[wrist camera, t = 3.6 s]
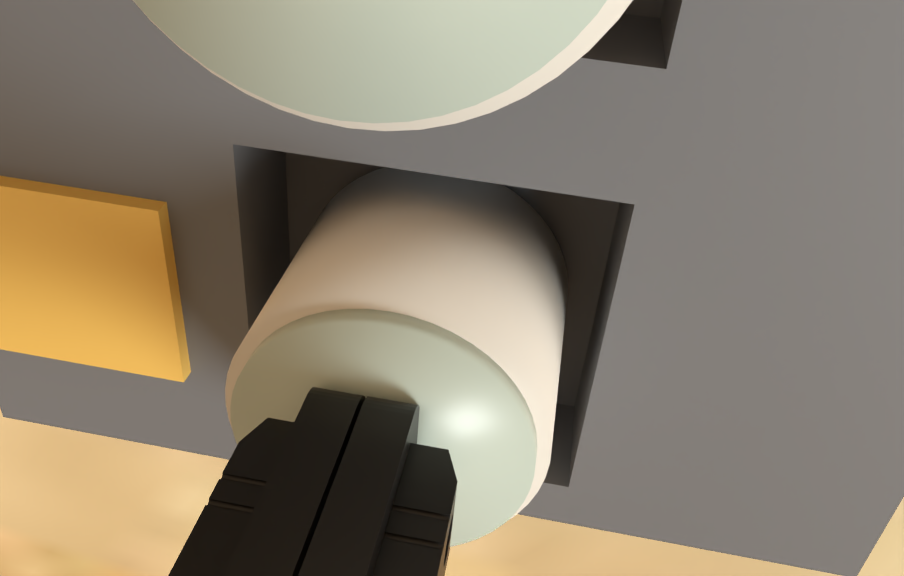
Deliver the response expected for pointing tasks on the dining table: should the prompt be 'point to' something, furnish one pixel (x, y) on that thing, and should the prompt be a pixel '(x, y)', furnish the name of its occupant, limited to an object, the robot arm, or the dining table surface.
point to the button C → (423, 329)
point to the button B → (385, 53)
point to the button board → (563, 210)
